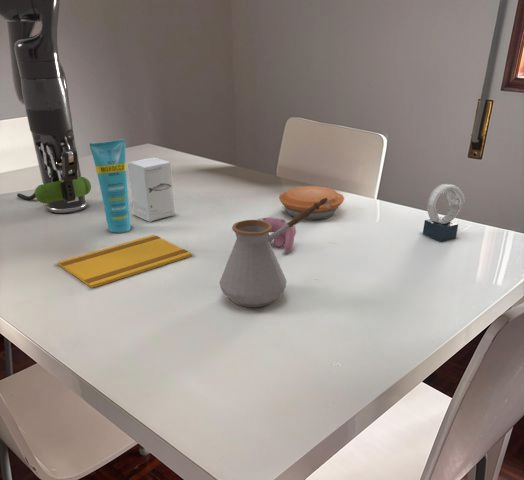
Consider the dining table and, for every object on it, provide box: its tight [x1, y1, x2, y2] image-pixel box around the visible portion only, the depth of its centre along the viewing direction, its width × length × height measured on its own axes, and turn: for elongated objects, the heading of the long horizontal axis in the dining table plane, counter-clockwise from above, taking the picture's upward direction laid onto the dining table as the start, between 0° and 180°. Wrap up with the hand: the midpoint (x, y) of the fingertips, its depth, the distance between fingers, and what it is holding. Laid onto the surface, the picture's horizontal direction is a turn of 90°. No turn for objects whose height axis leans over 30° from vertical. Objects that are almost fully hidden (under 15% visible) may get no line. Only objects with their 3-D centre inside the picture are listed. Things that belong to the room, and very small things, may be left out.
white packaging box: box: [127, 156, 176, 223], centre depth 132 cm, size 7×7×13 cm
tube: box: [89, 138, 132, 234], centre depth 122 cm, size 7×5×19 cm, turn 123°
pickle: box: [34, 176, 92, 205], centre depth 110 cm, size 4×11×4 cm, turn 131°
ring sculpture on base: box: [422, 183, 466, 243], centre depth 119 cm, size 6×8×11 cm
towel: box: [57, 234, 193, 289], centre depth 112 cm, size 14×22×1 cm, turn 131°
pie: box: [278, 185, 345, 221], centre depth 135 cm, size 15×16×5 cm
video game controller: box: [256, 216, 297, 254], centre depth 116 cm, size 10×5×7 cm, turn 71°
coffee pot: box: [219, 198, 332, 308], centre depth 96 cm, size 21×12×15 cm, turn 121°
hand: (65, 197), depth 111 cm, fingers closed on pickle, 3 cm apart
